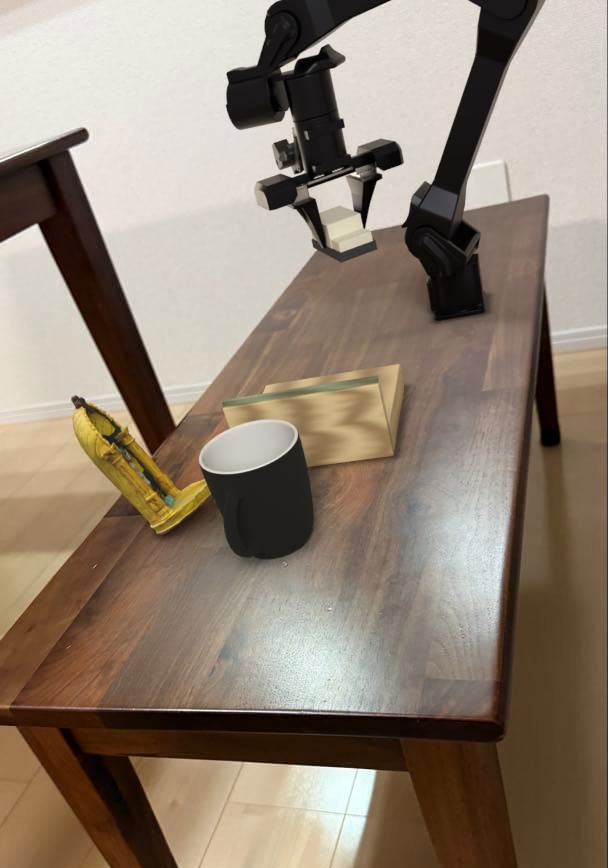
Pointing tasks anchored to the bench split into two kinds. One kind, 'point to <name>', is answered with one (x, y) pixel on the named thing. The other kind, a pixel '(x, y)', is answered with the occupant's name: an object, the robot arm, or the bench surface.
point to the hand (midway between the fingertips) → (342, 240)
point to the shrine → (134, 469)
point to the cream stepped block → (344, 234)
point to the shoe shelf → (332, 413)
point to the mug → (260, 487)
